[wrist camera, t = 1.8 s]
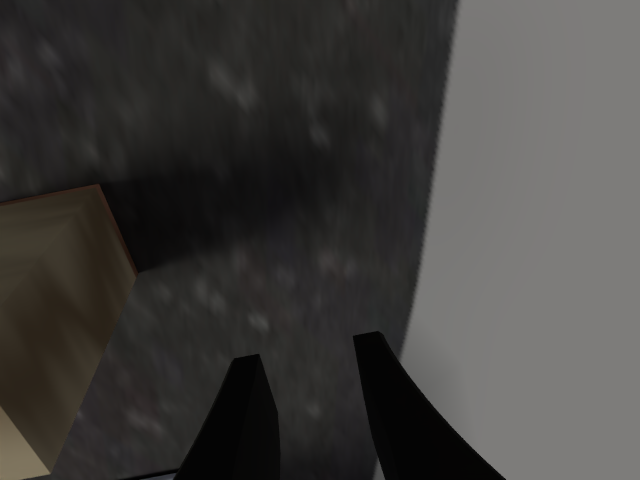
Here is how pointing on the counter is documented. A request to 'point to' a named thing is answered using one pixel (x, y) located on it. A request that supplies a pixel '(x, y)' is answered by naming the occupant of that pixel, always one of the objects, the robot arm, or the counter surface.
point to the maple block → (54, 317)
